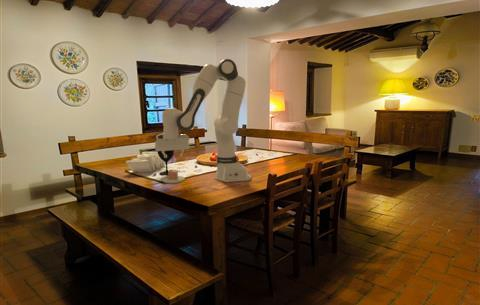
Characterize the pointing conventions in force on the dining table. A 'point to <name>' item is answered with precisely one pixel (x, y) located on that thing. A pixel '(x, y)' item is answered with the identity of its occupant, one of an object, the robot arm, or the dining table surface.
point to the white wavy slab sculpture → (146, 162)
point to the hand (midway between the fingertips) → (173, 157)
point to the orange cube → (172, 174)
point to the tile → (179, 179)
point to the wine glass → (166, 159)
